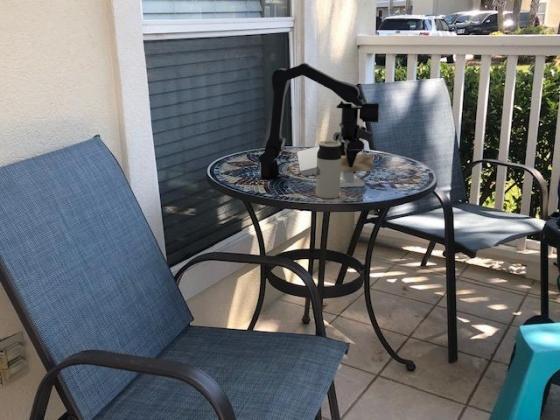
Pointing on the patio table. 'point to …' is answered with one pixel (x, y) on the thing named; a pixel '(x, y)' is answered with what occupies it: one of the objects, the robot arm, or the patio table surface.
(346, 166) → the oak bar
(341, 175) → the fulcrum stand
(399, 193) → the patio table surface
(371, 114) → the robot arm
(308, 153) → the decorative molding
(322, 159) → the travel mug
